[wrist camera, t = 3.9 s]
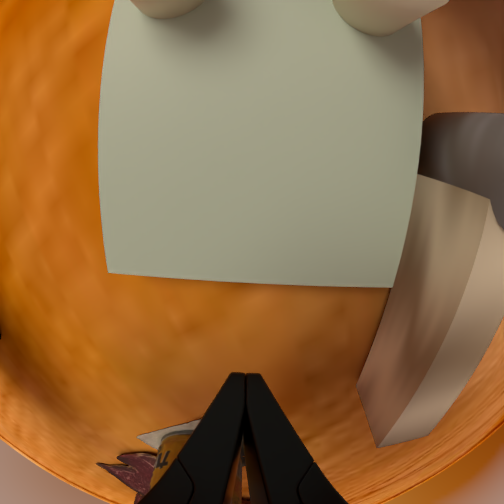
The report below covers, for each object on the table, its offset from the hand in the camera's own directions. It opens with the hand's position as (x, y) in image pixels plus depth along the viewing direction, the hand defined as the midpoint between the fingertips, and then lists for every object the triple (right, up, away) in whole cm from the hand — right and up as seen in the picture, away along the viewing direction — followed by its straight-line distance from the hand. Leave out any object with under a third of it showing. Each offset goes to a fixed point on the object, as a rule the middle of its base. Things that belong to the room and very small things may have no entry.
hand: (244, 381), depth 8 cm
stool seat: (+1, +9, +1) cm, 9 cm away
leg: (+8, +3, +3) cm, 9 cm away
